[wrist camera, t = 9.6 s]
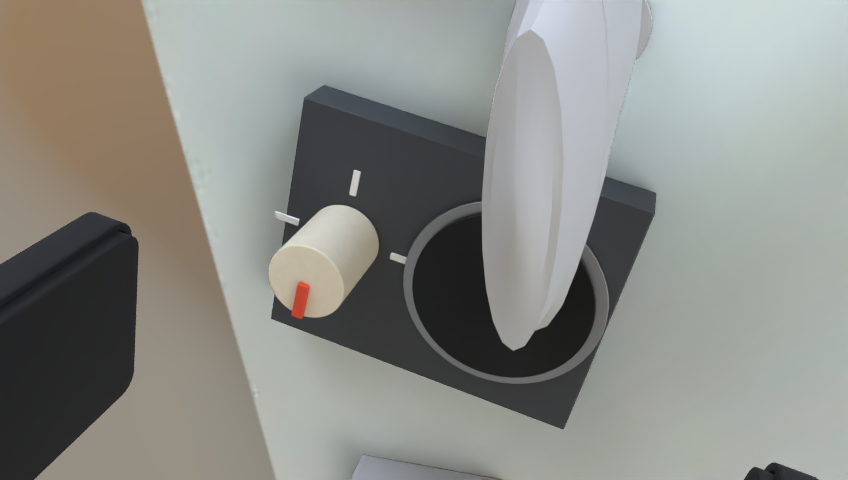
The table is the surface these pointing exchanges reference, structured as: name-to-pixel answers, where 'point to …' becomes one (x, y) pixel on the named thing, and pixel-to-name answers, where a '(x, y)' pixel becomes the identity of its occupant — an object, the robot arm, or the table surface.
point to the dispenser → (551, 149)
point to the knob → (323, 261)
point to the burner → (470, 311)
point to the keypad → (405, 471)
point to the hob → (408, 215)
